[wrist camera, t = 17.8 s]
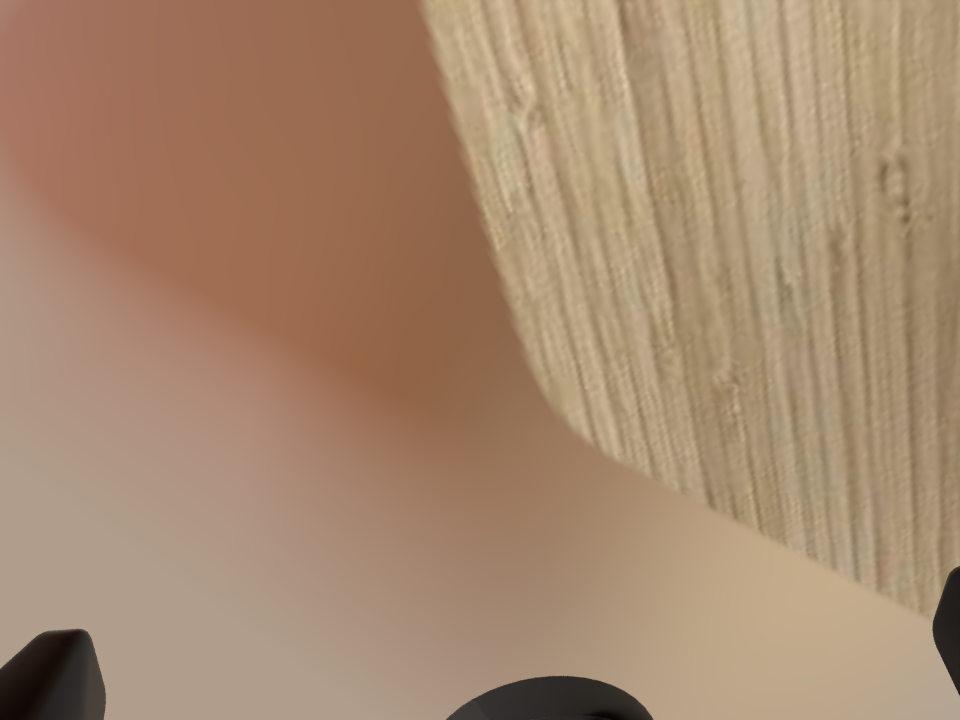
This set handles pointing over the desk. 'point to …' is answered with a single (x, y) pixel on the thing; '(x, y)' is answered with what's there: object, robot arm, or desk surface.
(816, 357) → the desk surface
